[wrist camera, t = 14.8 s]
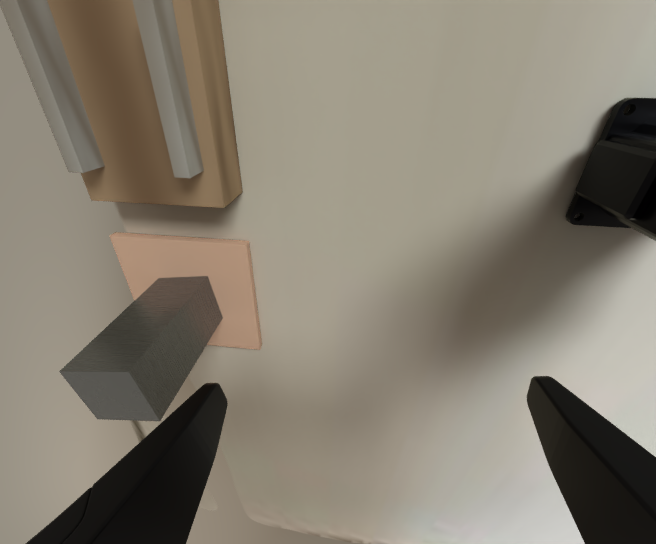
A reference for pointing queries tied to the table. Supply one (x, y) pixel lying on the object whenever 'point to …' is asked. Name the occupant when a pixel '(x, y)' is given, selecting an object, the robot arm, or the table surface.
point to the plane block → (134, 95)
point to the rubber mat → (198, 260)
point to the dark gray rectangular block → (146, 351)
